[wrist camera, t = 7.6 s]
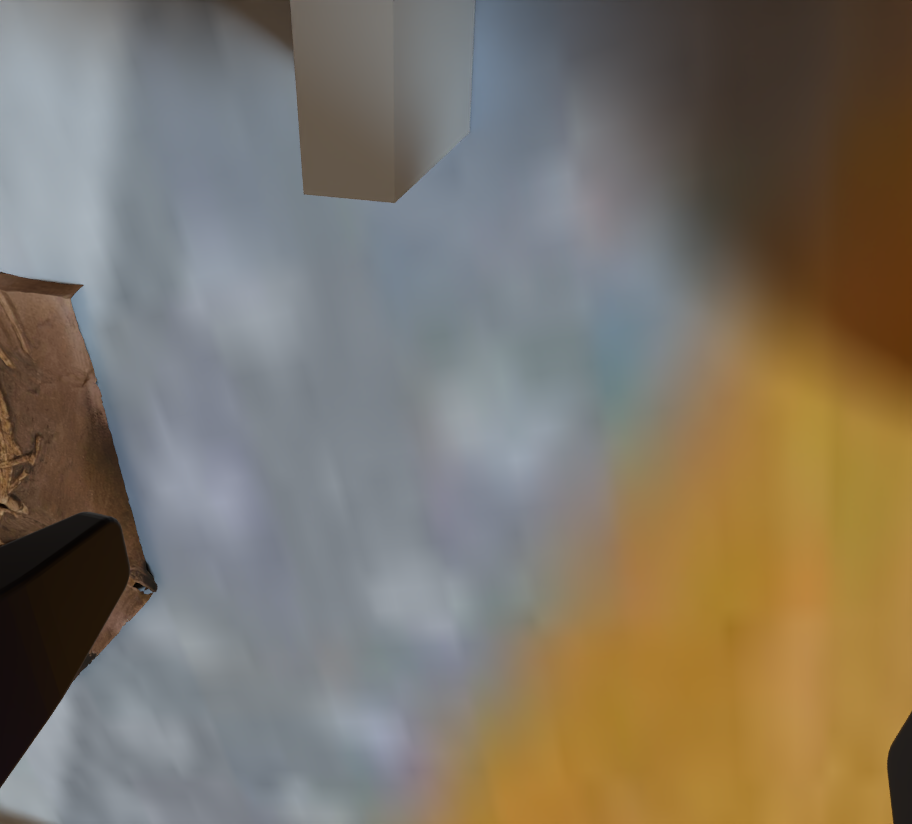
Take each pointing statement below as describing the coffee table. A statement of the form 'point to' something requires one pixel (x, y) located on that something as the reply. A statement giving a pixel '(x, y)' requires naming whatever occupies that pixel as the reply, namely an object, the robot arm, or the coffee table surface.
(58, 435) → the wooden fragment
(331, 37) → the tapered grey plank
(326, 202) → the coffee table surface
